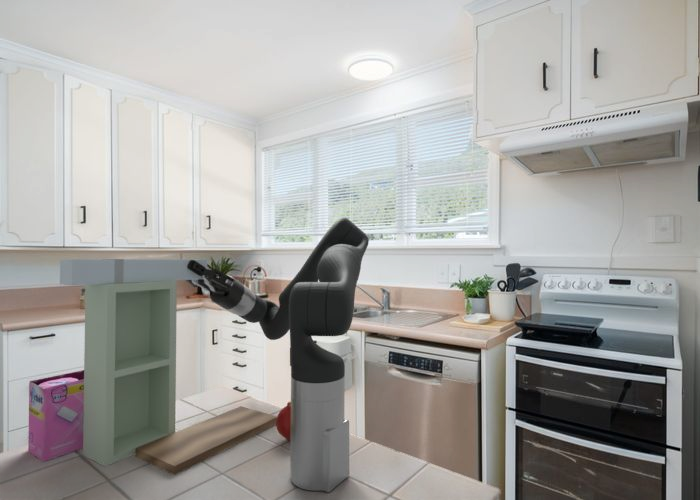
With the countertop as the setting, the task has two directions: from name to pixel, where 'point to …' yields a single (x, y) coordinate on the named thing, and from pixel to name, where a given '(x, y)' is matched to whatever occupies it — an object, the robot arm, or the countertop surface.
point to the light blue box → (125, 270)
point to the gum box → (56, 415)
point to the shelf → (128, 367)
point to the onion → (284, 422)
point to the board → (204, 439)
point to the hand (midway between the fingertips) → (182, 263)
